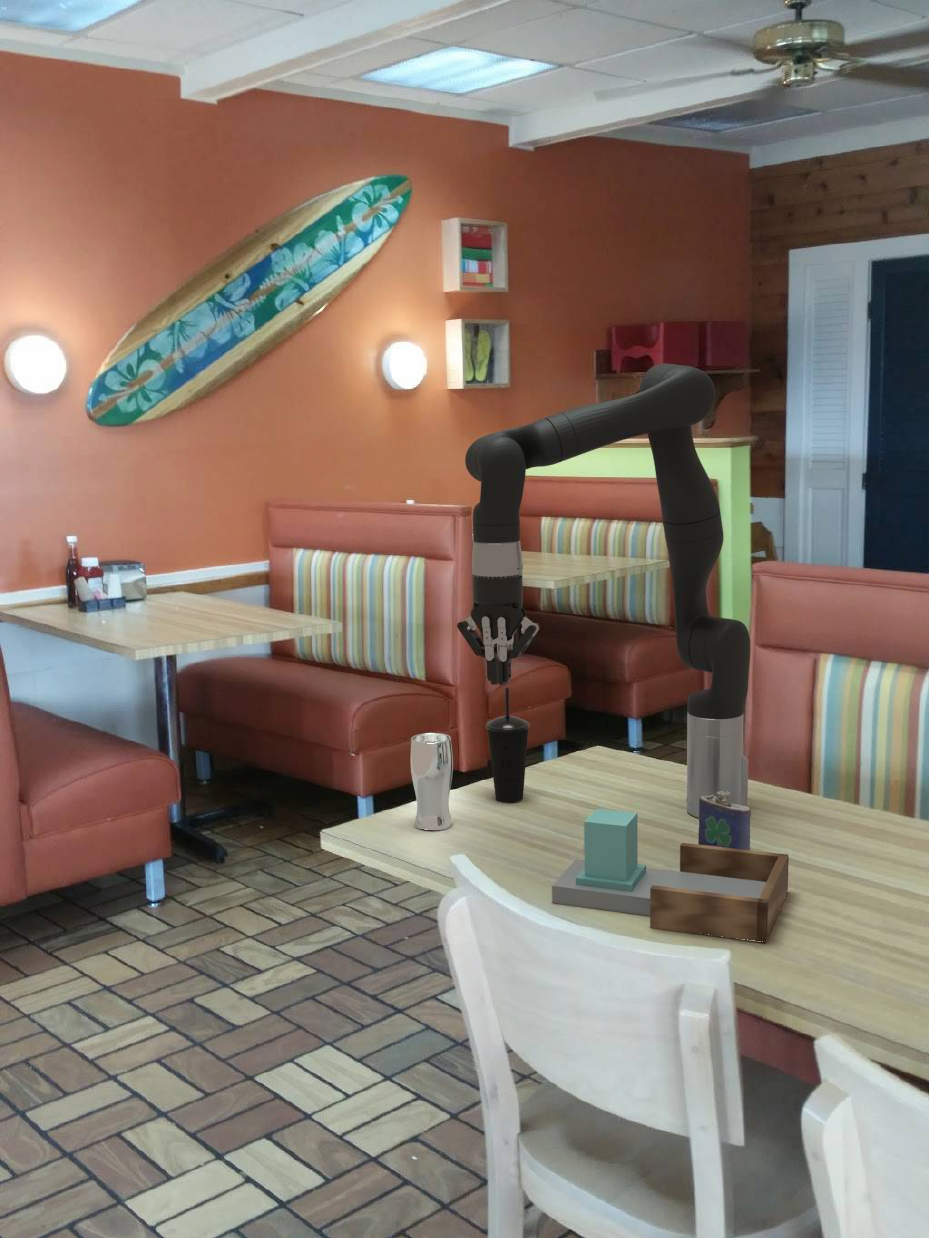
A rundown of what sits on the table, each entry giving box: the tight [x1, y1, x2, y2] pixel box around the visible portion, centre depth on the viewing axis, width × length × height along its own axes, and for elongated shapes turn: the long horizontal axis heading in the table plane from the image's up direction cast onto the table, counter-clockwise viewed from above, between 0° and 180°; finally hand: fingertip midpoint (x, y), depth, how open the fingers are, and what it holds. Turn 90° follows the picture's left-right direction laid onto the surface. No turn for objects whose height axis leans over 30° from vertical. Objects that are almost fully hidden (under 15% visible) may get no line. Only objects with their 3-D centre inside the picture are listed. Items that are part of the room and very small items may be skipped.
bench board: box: [551, 858, 766, 917], centre depth 180 cm, size 28×11×2 cm, turn 68°
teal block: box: [576, 808, 647, 892], centre depth 182 cm, size 8×8×9 cm
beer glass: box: [410, 732, 454, 831], centre depth 213 cm, size 7×7×15 cm
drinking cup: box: [485, 687, 531, 804], centre depth 225 cm, size 8×8×20 cm
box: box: [649, 842, 789, 943], centre depth 176 cm, size 15×18×6 cm
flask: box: [697, 791, 752, 850], centre depth 195 cm, size 9×3×11 cm, turn 40°
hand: (499, 683), depth 195 cm, fingers closed
